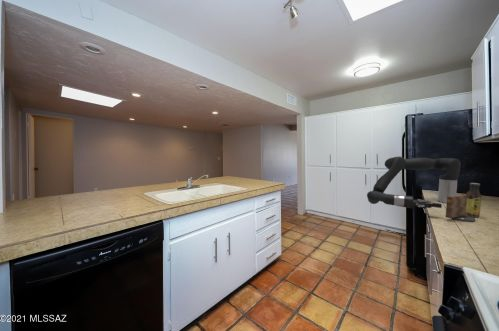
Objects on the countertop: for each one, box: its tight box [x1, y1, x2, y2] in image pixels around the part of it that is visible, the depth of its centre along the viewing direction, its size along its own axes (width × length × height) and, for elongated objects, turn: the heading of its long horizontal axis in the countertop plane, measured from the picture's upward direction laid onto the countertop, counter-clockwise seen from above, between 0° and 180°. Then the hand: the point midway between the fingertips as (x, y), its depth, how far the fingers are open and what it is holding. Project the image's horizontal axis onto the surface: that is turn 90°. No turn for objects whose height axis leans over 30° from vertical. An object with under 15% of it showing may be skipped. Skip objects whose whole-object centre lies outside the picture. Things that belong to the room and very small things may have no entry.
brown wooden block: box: [445, 194, 467, 219], centre depth 107 cm, size 13×4×12 cm, turn 105°
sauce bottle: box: [465, 182, 482, 218], centre depth 112 cm, size 6×6×20 cm
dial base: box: [450, 215, 476, 223], centre depth 109 cm, size 11×11×1 cm
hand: (441, 205), depth 109 cm, fingers closed
